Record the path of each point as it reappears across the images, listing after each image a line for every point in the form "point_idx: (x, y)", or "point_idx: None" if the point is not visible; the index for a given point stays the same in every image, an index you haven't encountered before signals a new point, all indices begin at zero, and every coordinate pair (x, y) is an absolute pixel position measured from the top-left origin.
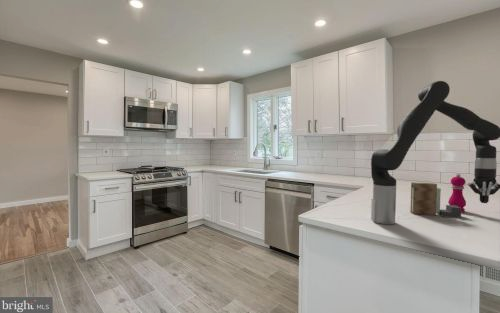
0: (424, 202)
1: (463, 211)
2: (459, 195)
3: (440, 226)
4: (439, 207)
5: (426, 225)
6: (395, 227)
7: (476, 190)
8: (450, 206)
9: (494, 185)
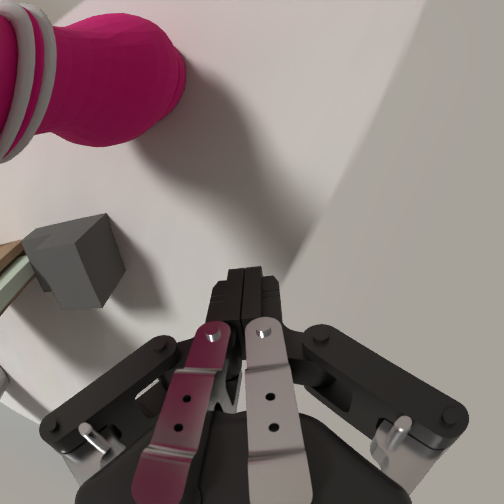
0: None
1: (168, 112)
2: (64, 133)
3: (76, 387)
4: (23, 283)
5: (51, 383)
6: (21, 395)
7: (146, 409)
8: (54, 289)
9: (373, 455)
